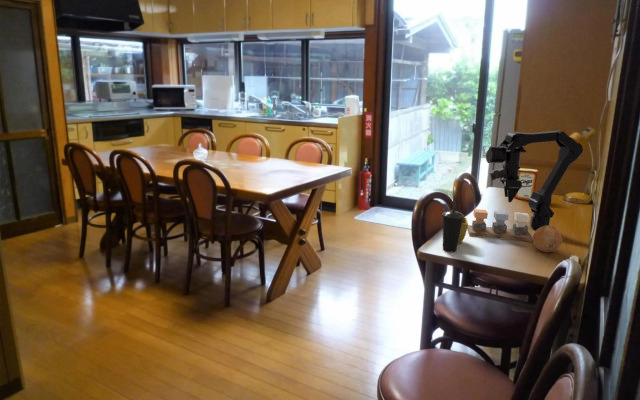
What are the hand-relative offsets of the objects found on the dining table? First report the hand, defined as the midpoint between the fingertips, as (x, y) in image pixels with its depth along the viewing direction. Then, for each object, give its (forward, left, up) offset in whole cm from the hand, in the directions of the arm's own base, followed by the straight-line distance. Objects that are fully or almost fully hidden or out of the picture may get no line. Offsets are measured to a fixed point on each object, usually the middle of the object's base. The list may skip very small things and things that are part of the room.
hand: (507, 199), depth 200 cm
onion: (-11, +25, -13) cm, 30 cm away
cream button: (-4, +10, -9) cm, 14 cm away
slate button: (+4, +10, -9) cm, 14 cm away
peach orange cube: (+12, +10, -9) cm, 18 cm away
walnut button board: (+4, +10, -13) cm, 16 cm away
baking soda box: (-20, -60, -13) cm, 65 cm away
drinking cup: (+25, +34, -13) cm, 44 cm away
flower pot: (+23, +24, -13) cm, 35 cm away
